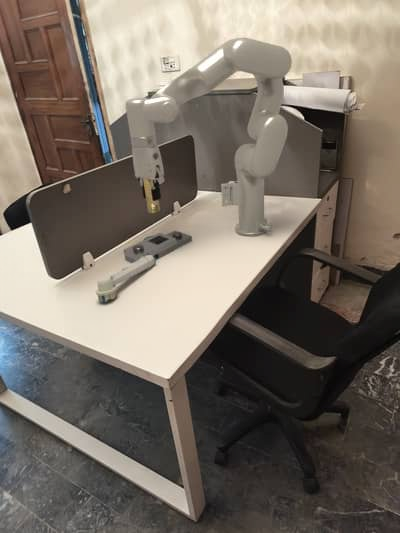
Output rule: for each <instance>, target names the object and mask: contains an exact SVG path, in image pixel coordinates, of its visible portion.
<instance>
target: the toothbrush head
mask: <svg viewBox="0 0 400 533" xmlns="http://www.w3.org/2000/svg"><path fill="white" fill-rule="evenodd" d="M156 263H157V260H156V257H154V256H153V255H146V256H144V257H141V258H140V259H139V260H137V261H135V262H134V263H130V264H128V265H126V266H125V267H124V268H122V269H121V270H118V271H116V272H115V273H113V274H112V275H110V276H107V277H102V278H99V279H98V280H97V289H96V290H95V294H96V295H97V298H98V301H99V302H108V300H113V299H116V296H117V297H118V295H117V290H118V288H117V285H120V283H123V282H125V281H126V280H128V279H131V278H132V277H134V276H137V275H138V274H140V273H141V272H144V271H145V270H146V271H148V270H149V269H150V268H151V267H153V266H154V265H156Z"/></svg>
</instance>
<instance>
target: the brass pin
mask: <svg viewBox="0 0 400 533" xmlns="http://www.w3.org/2000/svg"><path fill="white" fill-rule="evenodd" d="M143 182H144V188H145V194H146V199H145V200H146V205H147V211H148V213H149V214H154V213H159V212H160V211H161V208H160V201H159V200H160V199H159V200H156V201H153V200H152V193H151V189H152V186H151V182H150V180H148V179H145V178H143ZM155 182H156V180H155V181H154V184H155Z"/></svg>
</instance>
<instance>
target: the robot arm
mask: <svg viewBox="0 0 400 533" xmlns="http://www.w3.org/2000/svg"><path fill="white" fill-rule="evenodd" d="M292 63H293V59H292V55H291V53H290V52H289V50H288V49H286V48H285V47H283V46H280V45H278V44H277V45H276V44H273V43H268V42H265V41H261V40H257V39H253V38H249V37H235V38H232V39H231V38H230V39H229V40H227V41H225V42H223V43H222V44H221V45H219V46H218V47H217V48H215V49H214V50H213V51H212V52H210V53H209V54H208V55H207V56H205V57H204V58H203V59H201V60H200V61H198V62H197V63H196V64H194V65H193V66H191V68H189V69H187V70H186V71H185V72H183V73H182V74H181V75H179V76H176V78H173V80H171V81H170V82H168V83H167V84H166V85H164V86H162V88H161V89H158V90H157V91H156V92H155V93H154V94H152V96H151V97H150V98H147V97H136V98H130V99H128V100H126V102H125V111H126V116H127V124H128V129H129V136H130V142H131V147H132V149H131V150H132V152H131V153H132V164H133V170H134V176H135V178H136V179H137V180H138V182H139V184H140V186H141V191H142V196H143V199H145V200H146V194H145V188H144V182H143V178H145V179H148V180H150V182H151V186H152V189H151V193H152V200H153V201H156V200H161V199H162V195H161V189H160V188H161V186H162V183H164V182H165V178H164V176H165V169H164V164H163V159H162V154H161V151H160V149H159V148H160V147H159V146H158V145H157V138H156V132H155V131H156V130H155V126H154V123H160V124H162V123H163V124H165V123H166V124H168V123H171V122H174V121H175V120H176V119H177V117H178V116H179V115H180V106H181V105H183V104H185V103H186V102H189V101H190V100H192V99H196V98H198V97H202V96H205V95H207V94H209V93H210V92H212V91H213V90H215V89H216V88H217V87H219V86H220V85H221V84H222V83H224V81H226V80H227V79H229V78H230V77H232V76H233V75H234V74H235V73H237V72H242V73H243V72H244V73H247V74H252V75H253V77H254V79H255V82H256V85H257V94H256V97H255V103H254V106H253V109H252V111H251V114H250V118H249V121H248V124H247V130H246V131H247V133H248V136H249V137H250V138H251V139H252V140H255V141H256V142H255V144H254V143H244V144H241V146H239V147H238V148H237V150H236V152H235V154H234V155H235V156H234V168H235V171H236V179H237V180H236V181H237V183H238V205H237V206H238V207H237V209H238V210H237V211H238V223H237V224H235V226H234V231H235V232H236V233H237V234H239V235H241V236H245V237H256V236H261V235H263V234H265V233H267V232H269V233H270V232H271V231H272V228H273V224H272V223H268V222H267V217H266V218H265V179H266V178H268V177H270V176H271V175H272V174H273V173H274V171H275V170H276V169H277V168H276V167H277V165H278V162H279V160H280V157H281V156H282V155H281V154H282V152H283V149H284V146H285V143H286V140H287V138H288V131H289V127H288V123H287V120H286V119H285V117H284V116H283V115H282V114H280V110H281V107H282V104H283V100H284V95H285V94H284V92H285V88H284V82H283V78H284V77H286V76H287V75H288V73H289V72H290V70H291V68H292ZM155 180H156V182H155V184H154V181H155Z"/></svg>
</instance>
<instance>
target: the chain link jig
mask: <svg viewBox="0 0 400 533" xmlns="http://www.w3.org/2000/svg"><path fill="white" fill-rule="evenodd" d="M191 242H193V237H192V235H189V234H186V233H184V232H181V231H177V230H173V231H171V232H169V233H167V234H165V233H161V232H159V233H155V234H154V235H152V236H150V237H147V238H146V239H144V240H141V241H139V242H137V243H134V244H132V245H131V246H128V247H126V248H124V249H123V254H124V260H125V261H127V262H129V263H130V264H132V263H134V262H135V261H137V260H139V259H140V258H141V257H144V256H146V255H153V256H154V257H155V259H161V258H162V257H164V256H166V255H169V254H170V253H172V252H174V251H177V249H179V248H182V247H183V246H185V245H187V244H189V243H191Z"/></svg>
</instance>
